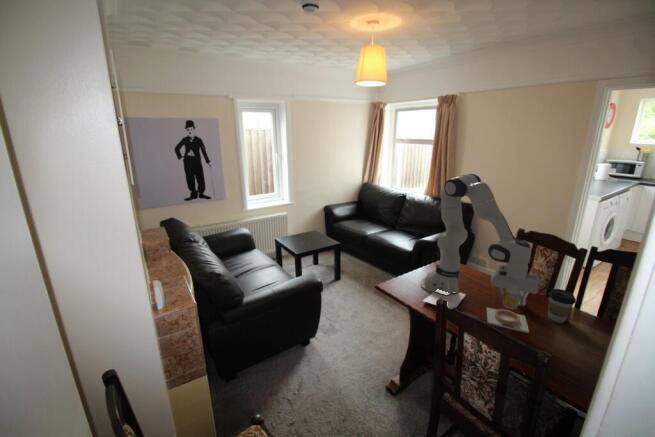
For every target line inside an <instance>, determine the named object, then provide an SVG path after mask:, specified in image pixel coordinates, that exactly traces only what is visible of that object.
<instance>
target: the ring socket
mask: <svg viewBox="0 0 655 437" xmlns="http://www.w3.org/2000/svg"><path fill="white" fill-rule="evenodd" d="M486 320H487V321H486V322H487V323H489V324H488V325H491V324H492V326H496V327H501V328H505V329H509V330H512V331H517V332H520V333H521V332H522V333H526V334H530V330H529V326H528V322H527V319H526V316H525V315H523V314H518V313H516V312H513V311H511V310H509V309H501V308H499V309H495V308H491V307H486Z"/></svg>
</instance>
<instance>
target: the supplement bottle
mask: <svg viewBox="0 0 655 437" xmlns="http://www.w3.org/2000/svg"><path fill="white" fill-rule="evenodd" d="M510 287H511V289H506V288H504V292H505V294H504V296H503V299H502V305H503V306H504V308H507V309H508V310H509V309H511V310H516V309H518V302H519V297H520V292H521V291H518V290H517V288H518V286H516V285H510Z"/></svg>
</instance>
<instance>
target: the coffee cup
mask: <svg viewBox="0 0 655 437" xmlns="http://www.w3.org/2000/svg"><path fill="white" fill-rule="evenodd" d="M548 297H549V298H548V309H547V316H548V318H549V320H551V321H553V322H556V323H561V324H563V323H564V322H565V321H566V320H567V319H568V316H569V315H570V312H571V310H572V308H573V306H574V305H575V304H576V302H577V301H576V300H577V299H576V297H575V295H574V294H573V293H572V292H570V291H568V290H565V289H560V288H554V289H551V290H550V291H549V292H548Z"/></svg>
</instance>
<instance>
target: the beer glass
mask: <svg viewBox="0 0 655 437" xmlns="http://www.w3.org/2000/svg"><path fill="white" fill-rule="evenodd" d="M522 293H523V292H522V291H521V292H520V294H522ZM528 295H529V293H527V294H526V295H525V296H524V297H523V299H519V302H518V306H519V307H525V306H526V301H527V300H526V299H527V296H528Z"/></svg>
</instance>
